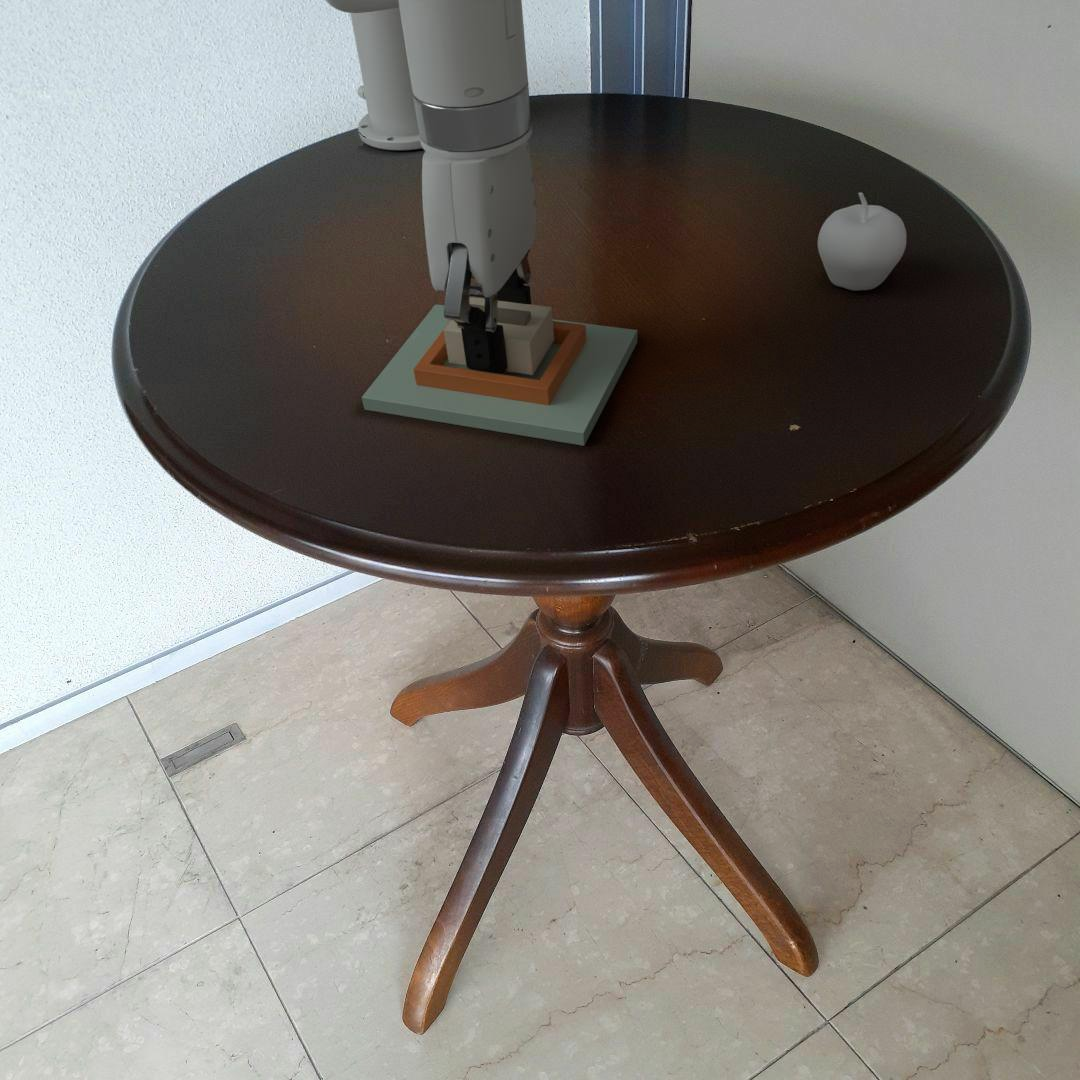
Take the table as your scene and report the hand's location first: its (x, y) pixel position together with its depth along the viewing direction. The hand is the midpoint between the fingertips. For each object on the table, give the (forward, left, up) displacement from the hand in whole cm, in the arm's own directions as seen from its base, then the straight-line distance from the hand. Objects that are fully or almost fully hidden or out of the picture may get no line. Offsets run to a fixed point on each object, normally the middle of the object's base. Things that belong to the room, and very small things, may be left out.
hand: (500, 347), depth 80 cm
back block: (0, 0, 0) cm, 0 cm away
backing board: (0, 0, -3) cm, 3 cm away
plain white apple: (+11, +30, -3) cm, 32 cm away
